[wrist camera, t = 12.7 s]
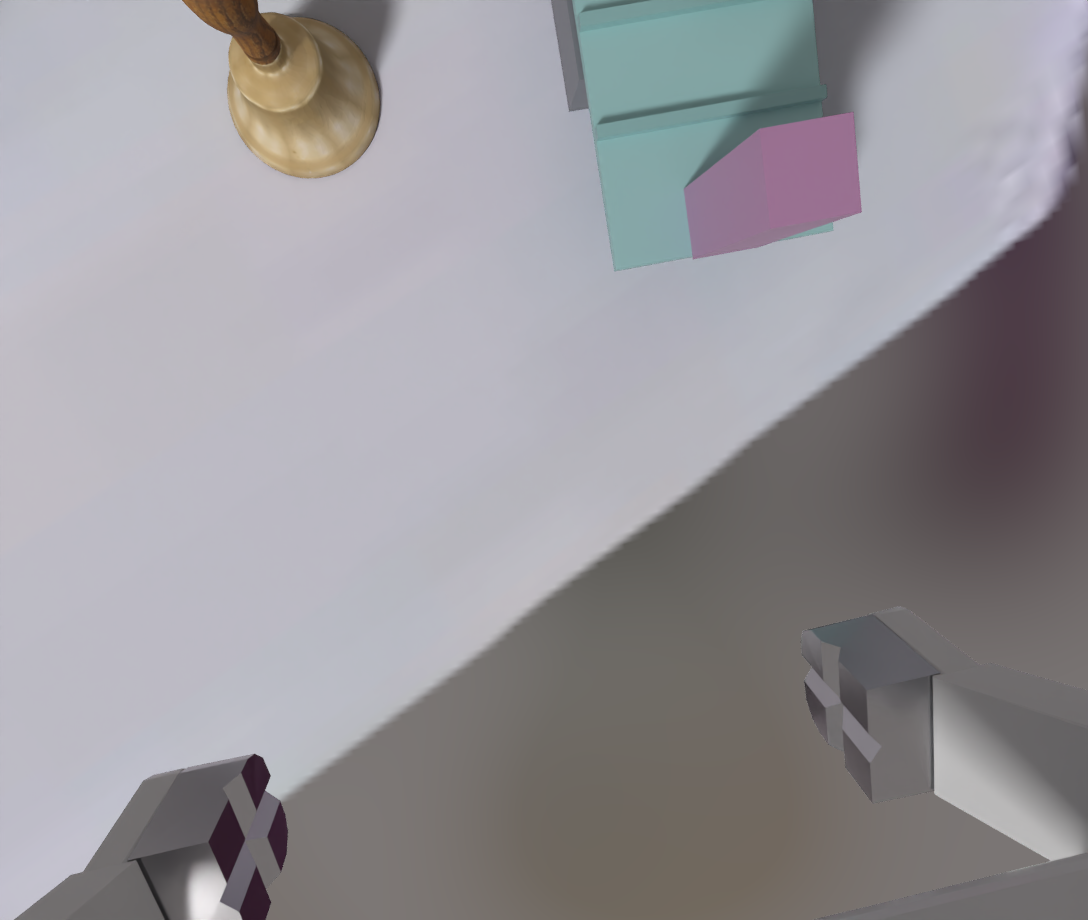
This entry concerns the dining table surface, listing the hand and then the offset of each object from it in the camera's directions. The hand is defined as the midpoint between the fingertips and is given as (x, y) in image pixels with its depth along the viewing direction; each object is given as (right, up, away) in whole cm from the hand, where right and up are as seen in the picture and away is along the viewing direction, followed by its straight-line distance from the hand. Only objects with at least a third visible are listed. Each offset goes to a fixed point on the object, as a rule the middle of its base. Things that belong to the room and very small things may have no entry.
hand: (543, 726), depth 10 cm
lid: (+8, +22, +24) cm, 33 cm away
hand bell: (-13, +24, +27) cm, 39 cm away
